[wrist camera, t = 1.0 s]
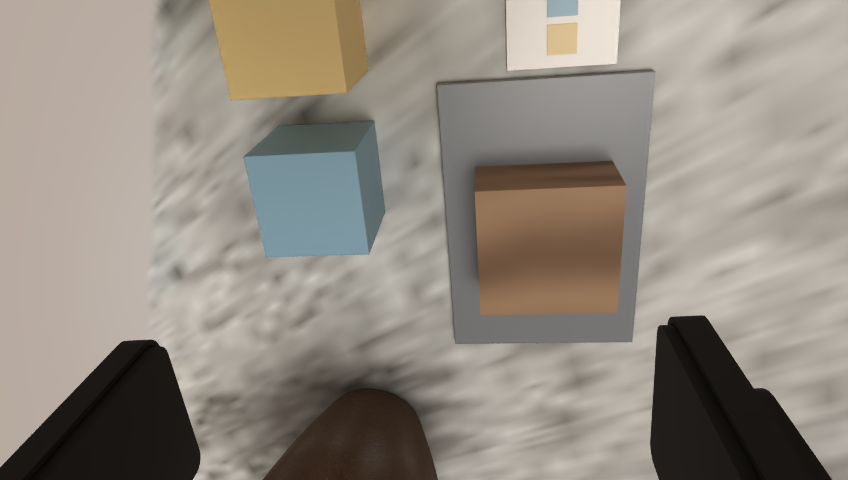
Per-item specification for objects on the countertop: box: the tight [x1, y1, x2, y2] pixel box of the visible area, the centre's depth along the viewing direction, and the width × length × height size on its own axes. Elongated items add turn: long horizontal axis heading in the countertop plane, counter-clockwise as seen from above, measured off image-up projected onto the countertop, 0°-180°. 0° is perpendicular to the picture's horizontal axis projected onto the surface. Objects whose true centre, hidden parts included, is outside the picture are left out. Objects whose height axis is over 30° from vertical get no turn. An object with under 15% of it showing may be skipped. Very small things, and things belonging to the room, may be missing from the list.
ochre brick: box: [209, 0, 368, 100], centre depth 31 cm, size 6×6×6 cm
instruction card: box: [506, 0, 620, 71], centre depth 32 cm, size 7×6×1 cm
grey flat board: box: [437, 70, 655, 344], centre depth 38 cm, size 18×12×1 cm, turn 5°
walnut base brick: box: [475, 161, 627, 315], centre depth 36 cm, size 8×8×4 cm
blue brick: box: [244, 121, 385, 257], centre depth 35 cm, size 6×6×6 cm
